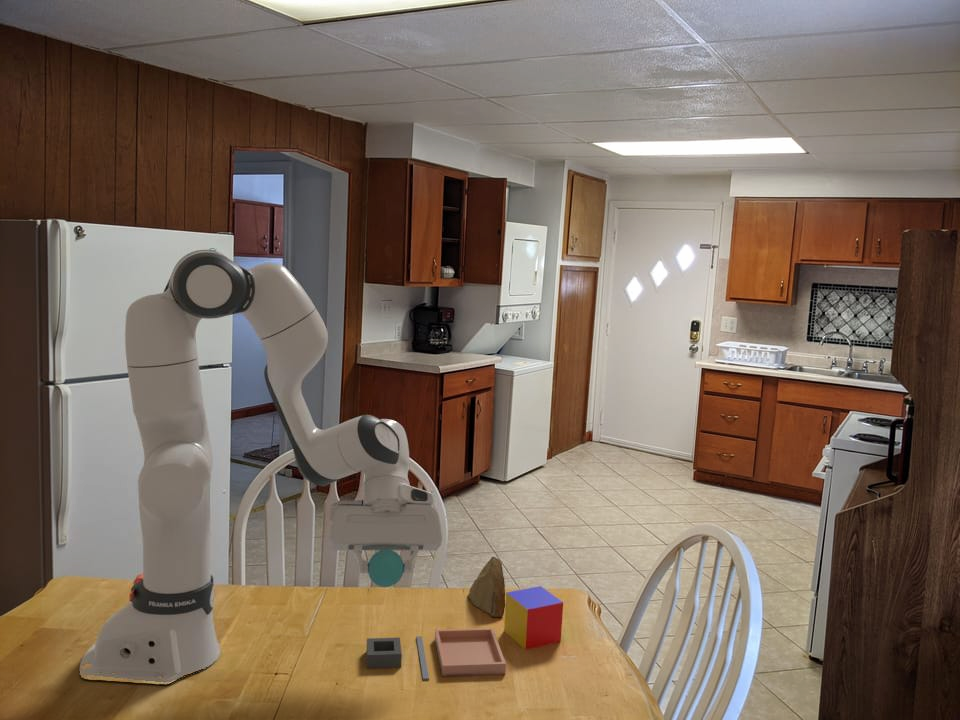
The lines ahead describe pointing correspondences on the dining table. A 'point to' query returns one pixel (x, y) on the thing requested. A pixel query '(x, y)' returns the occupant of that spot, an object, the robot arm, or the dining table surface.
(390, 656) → the grey square frame
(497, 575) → the rock
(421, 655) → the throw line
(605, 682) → the dining table surface
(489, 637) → the tray
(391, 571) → the ball
